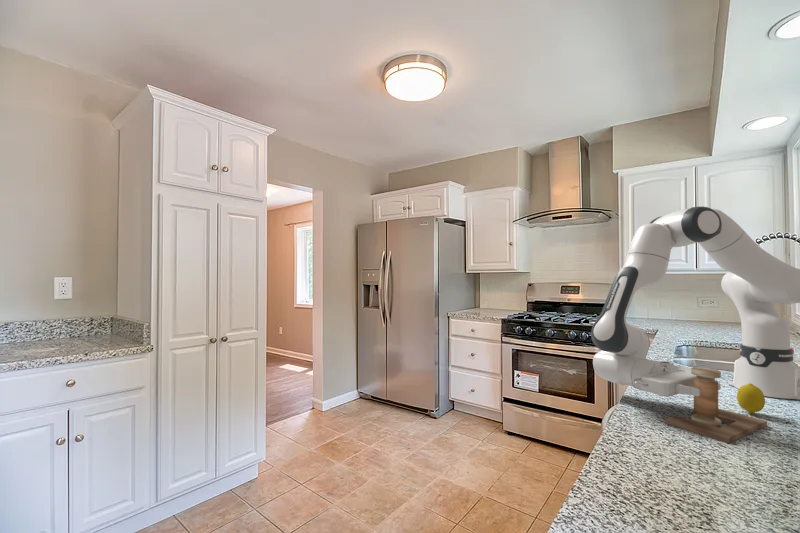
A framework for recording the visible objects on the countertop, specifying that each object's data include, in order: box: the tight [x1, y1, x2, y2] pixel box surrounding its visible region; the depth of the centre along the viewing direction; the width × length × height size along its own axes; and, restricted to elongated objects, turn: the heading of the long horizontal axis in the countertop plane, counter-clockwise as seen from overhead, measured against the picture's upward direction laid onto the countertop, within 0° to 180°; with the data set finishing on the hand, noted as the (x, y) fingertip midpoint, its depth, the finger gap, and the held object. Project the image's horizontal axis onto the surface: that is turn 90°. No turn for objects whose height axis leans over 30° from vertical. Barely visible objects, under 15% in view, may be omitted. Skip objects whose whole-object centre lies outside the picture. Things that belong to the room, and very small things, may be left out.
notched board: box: [666, 407, 768, 444], centre depth 95 cm, size 20×12×1 cm, turn 119°
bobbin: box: [690, 366, 722, 428], centre depth 96 cm, size 6×6×13 cm
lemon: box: [736, 383, 766, 415], centre depth 102 cm, size 6×6×8 cm
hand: (710, 389), depth 95 cm, fingers open, 8 cm apart
